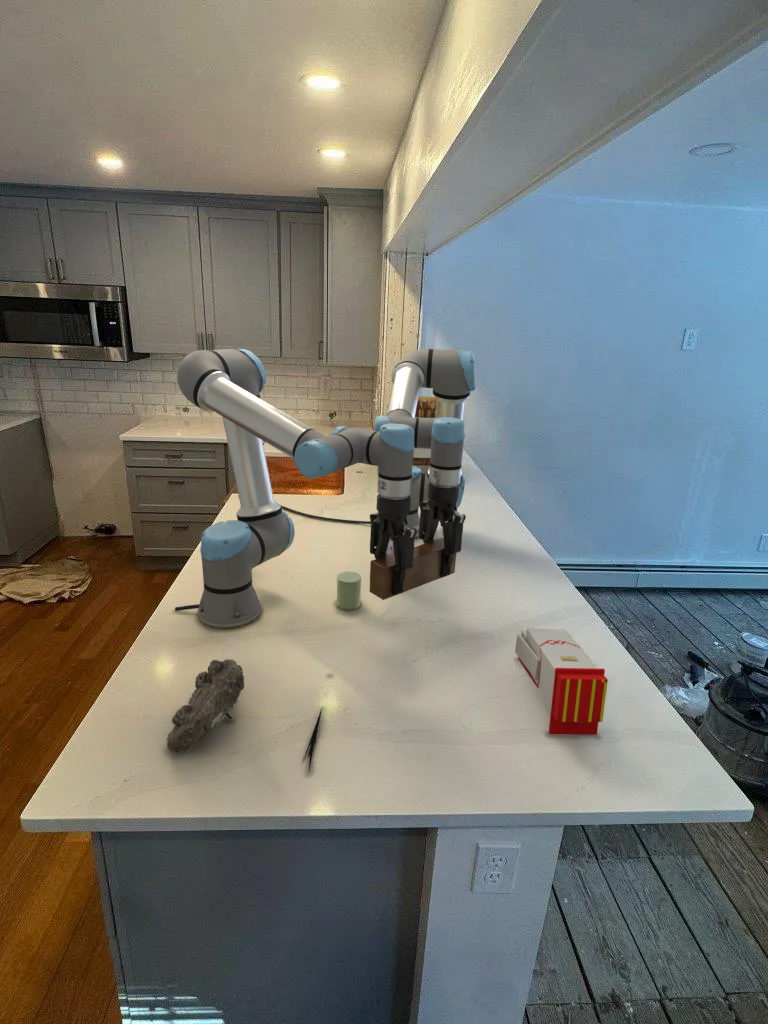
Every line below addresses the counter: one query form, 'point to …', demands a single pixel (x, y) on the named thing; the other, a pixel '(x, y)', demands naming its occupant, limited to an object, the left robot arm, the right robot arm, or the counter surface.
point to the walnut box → (421, 573)
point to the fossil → (206, 705)
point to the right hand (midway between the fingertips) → (436, 571)
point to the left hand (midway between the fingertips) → (389, 588)
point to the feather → (313, 740)
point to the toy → (564, 680)
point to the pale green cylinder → (348, 590)
